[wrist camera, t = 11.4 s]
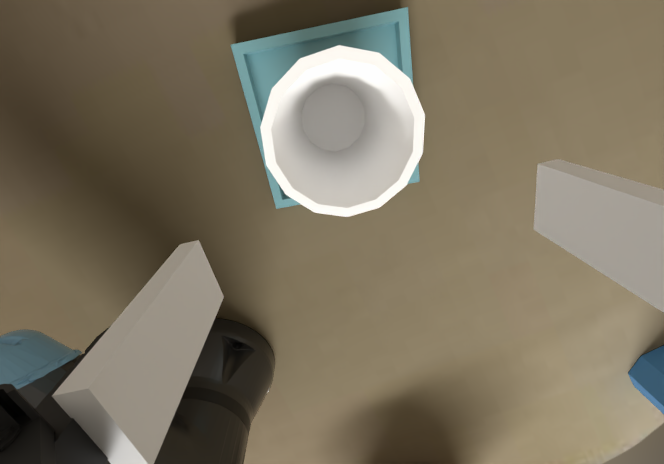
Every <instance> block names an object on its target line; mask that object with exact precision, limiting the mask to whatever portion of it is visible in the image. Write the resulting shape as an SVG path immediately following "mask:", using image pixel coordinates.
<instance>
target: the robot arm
mask: <svg viewBox="0 0 664 464" xmlns="http://www.w3.org/2000/svg"><path fill="white" fill-rule="evenodd" d="M534 230H535V231H537V232H538V233H540V234H541V235H543V236H545V237H546V238H548V239H549V240H551V241H552V242H554V243H556V244H557V245H559V246H560V247H562V248H563V249H565V250H566V251H568V252H570V253H571V254H573V255H574V256H576V257H577V258H579V259H581V260H582V261H584V262H585V263H587V264H588V265H590V266H591V267H593V268H595V269H596V270H598V271H599V272H601V273H602V274H604V275H606V276H607V277H609V278H610V279H612V280H613V281H615V282H616V283H618V284H620V285H621V286H623V287H624V288H626V289H627V290H629V291H631V292H632V293H634V294H635V295H637V296H638V297H640V298H641V299H643V300H645V301H646V302H648V303H649V304H651V305H652V306H654V307H656V308H657V309H659V310H660V311H662V312H663V313H664V190H663V189H660V188H657V187H653V186H650V185H646V184H643V183H639V182H636V181H632V180H629V179H625V178H622V177H619V176H615V175H612V174H608V173H605V172H601V171H598V170H594V169H591V168H588V167H584V166H581V165H577V164H574V163H570V162H567V161H563V160H560V159H556V160H552V161H548V162H543V163H539V164H538V167H537V184H536V200H535V216H534ZM223 298H224V296H223V293H222V291H221V289H220V287H219V284H218V282H217V280H216V278H215V276H214V273H213V271H212V269H211V267H210V264H209V262H208V260H207V258H206V255H205V253H204V251H203V249H202V246H201V244H200V242H199V240H197V241H192V242H188V243H184V244H180V245H179V246H178V247H177V248H176V249H175V251H174V252H173V253H172V254H171V255H170V257H169V258H168V259H167V260H166V261H165V262H164V264H163V265H162V266H161V267H160V268H159V270H158V271H157V272H156V273H155V274H154V275H153V277H152V278H151V279H150V280H149V281H148V283H147V284H146V285H145V286H144V287H143V288H142V290H141V291H140V292H139V293H138V294H137V296H136V297H135V298H134V299H133V300H132V302H131V303H130V304H129V305H128V306H127V307H126V309H125V310H124V311H123V312H122V313H121V315H120V316H119V317H118V318H117V319H116V320H115V322H114V323H113V324H112V325H111V326H110V327H109V328H107V329H106V330H105V331H104V332H102V333H101V334H100V335H99V336H97V337H96V339H95V340H94V341H93V342H92V343H91V344H90V346H89V347H88V348H87V349H86V350H85V354H82V355H79V354H81V353H82V352H81V351H79V350H72V349H70V348H69V347H67V346H65V345H63V344H61V343H59V342H58V341H56V340H54V339H52V338H50V337H49V336H47V335H45V334H43V333H41V332H38V331H35V330H17V331H13V332H9V333H7V334H4V335H2V336H0V464H243V463H244V458H245V452H246V447H247V441H248V435H249V430H250V425H251V422H252V420H253V419H254V417H255V415H256V413H257V411H258V410H259V408H260V406H261V404H262V402H263V400H264V398H265V396H266V395H267V393H268V391H269V389H270V387H271V384H272V381H273V375H274V368H275V359H274V355H273V352H272V349H271V348H270V346H269V344H268V343H267V342H266V341H265V339H264V338H263V337H262V336H260V335H259V334H258V333H257V332H255V331H254V330H252V329H251V328H249V327H247V326H245V325H242V324H240V323H237V322H233V321H229V320H224V319H215V317H216V315H217V312H218V310H219V308H220V305H221V303H222V301H223Z"/></svg>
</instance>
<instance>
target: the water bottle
mask: <svg viewBox="0 0 664 464" xmlns="http://www.w3.org/2000/svg"><path fill="white" fill-rule="evenodd" d="M628 374H629V376H630V379H631V381H632V383H633V385H634V386H635V387H636V388H637V389H638V390H639V391H640V392H641V393H642V394H643V395H644V396H645V397H646V398H647V399H648V400H649V401H650V402H651V403H652V404H654V405H655V406H656V407H657V408H658V409H659V410H660V411H661V412H662V413H663V414H664V345H663V346H661V347H659V348H657V349H655V350H653V351H650V352H648V353H646V354H644V355H642V356H640V358H639V359H638V360H637V362H636V363H635V365H634V366H633V367H632V369H631V370H630V371H629V373H628Z"/></svg>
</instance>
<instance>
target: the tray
mask: <svg viewBox="0 0 664 464" xmlns="http://www.w3.org/2000/svg"><path fill="white" fill-rule="evenodd" d="M338 45H341V46H346V47H351V48H357V49H362V50H367V51H373V52H378V53H380V54H381V55H383V56H384V57H385V58H386V59H387V60H388V61H390V62H391V63H392V64H393V65H394V66H396V67H397V68H398V69H399V70H400V71H401V72H403V73H404V74H405V75H406V76H407V77H409V78H410V80H411V82H412V85H413V77H412V63H411V48H410V33H409V18H408V7H406V8H401V9H397V10H392V11H387V12H383V13H378V14H373V15H368V16H364V17H359V18H354V19H350V20H345V21H340V22H335V23H331V24H326V25H321V26H317V27H312V28H307V29H303V30H298V31H293V32H288V33H284V34H279V35H274V36H270V37H265V38H260V39H256V40H251V41H246V42H241V43H237V44H232V45H231V48H232V51H233V55H234V59H235V62H236V66H237V69H238V73H239V76H240V80H241V84H242V87H243V91H244V94H245V98H246V101H247V105H248V109H249V112H250V116H251V119H252V123H253V126H254V130H255V134H256V137H257V141H258V144H259V148H260V151H261V155H262V159H263V162H264V166H265V169H266V173H267V176H268V180H269V184H270V187H271V191H272V194H273V198H274V201H275V205H276V209H278V208H283V207H288V206H294V205H299V204H300V203H298V202H297V201H295V200H294V199H292V198H290V197H289V196H287V195H286V194H285V193H284V191H283V190H282V188H281V187H280V185H279V184H278V182H277V181H276V179H275V178H274V176H273V175H272V173H271V172H270V170H269V169H268V167H267V166H266V161H265V155H264V149H263V142H262V136H261V129H260V126H261V123H262V120H263V116H264V113H265V109H266V106H267V103H268V99H269V96H270V92H271V89H272V88H273V87H274V86H275V85H276V84H277V83H278V81H279V80H280V79H281V78H282V77H283V76H284V75H285V74H286V73H287V72H288V71H289V70H290V69H291V67H292V66H293V65H294V64H295V63H296V62H297V61H298V60H299V59H300V58H303V57H306V56H309V55H312V54H315V53H318V52H320V51H323V50H326V49H329V48H332V47H335V46H338ZM414 182H419V166H418V163H417V165H416V167H415V169H414V171H413V173H412V175H411V177H410V179H409V181H408V183H407V184H409V183H414Z"/></svg>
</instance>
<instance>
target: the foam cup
mask: <svg viewBox="0 0 664 464" xmlns="http://www.w3.org/2000/svg"><path fill="white" fill-rule="evenodd" d="M424 123H425V114H424V112H423V109H422V107H421V104H420V102H419V99H418V97H417V94H416V92H415V90H414V87H413V85H412V82H411V80H410V78H409V77H407V76H406V75H405V74H404V73H403V72H401V71H400V70H399V69H398V68H397V67H396V66H394V65H393V64H392V63H391V62H390V61H388V60H387V59H386V58H385V57H384V56H383V55H381V54H380V53H378V52H373V51H367V50H362V49H357V48H351V47H346V46H341V45H338V46H335V47H332V48H329V49H326V50H323V51H320V52H318V53H315V54H312V55H309V56H306V57H303V58H300V59H299V60H298V61H297V62H296V63H295V64H294V65H293V66H292V67H291V69H290V70H289V71H288V72H287V73H286V74H285V75H284V76H283V77H282V78H281V79H280V80H279V81H278V83H277V84H276V85H275V86H274V87H273V88H272V89H271V92H270V96H269V99H268V103H267V106H266V109H265V113H264V116H263V120H262V123H261V126H260V129H261V136H262V142H263V149H264V155H265V161H266V166H267V167H268V169H269V170H270V172H271V173H272V175H273V176H274V178H275V179H276V181H277V182H278V184H279V185H280V187H281V188H282V190H283V191H284V193H285V194H286V195H287V196H289V197H290V198H292V199H294V200H295V201H297V202H298V203H300V204H302V205H303V206H305V207H306V208H308V209H310V210H311V211H313V212H315V213H322V214H329V215H337V216H345V217H349V216H352V215H356V214H359V213H363V212H366V211H369V210H373V209H376V208H380V207H381V206H382V205H383V204H384V203H386V202H387V201H388V200H389V199H390V198H392V197H393V196H394V195H395V194H397V193H398V192H399V191H400V190H401V189H403V188H404V187H405V186H406V185H407V183H408V181H409V179H410V177H411V175H412V173H413V171H414V169H415V167H416V165H417V163H418V162H419V160H420V158H421V156H422V154H423V141H424Z"/></svg>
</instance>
